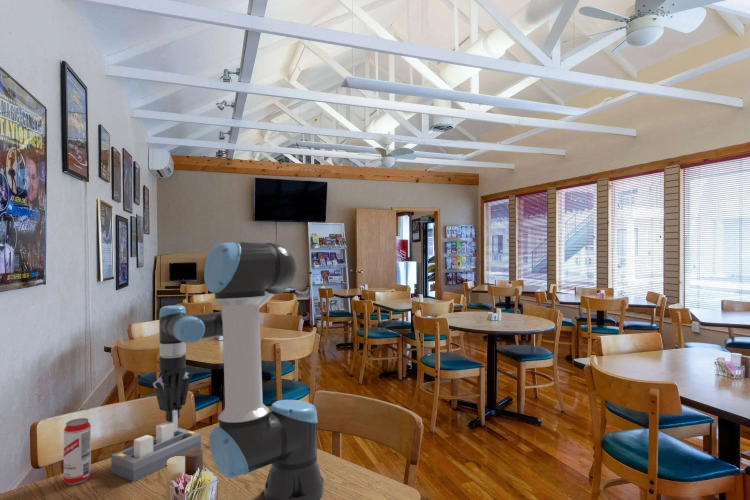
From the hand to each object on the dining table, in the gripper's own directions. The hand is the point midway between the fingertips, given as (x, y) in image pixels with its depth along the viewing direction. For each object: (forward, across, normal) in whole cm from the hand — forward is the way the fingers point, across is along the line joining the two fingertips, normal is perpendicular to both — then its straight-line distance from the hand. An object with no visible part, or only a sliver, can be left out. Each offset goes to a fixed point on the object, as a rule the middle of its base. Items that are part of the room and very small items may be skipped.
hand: (172, 430), depth 139 cm
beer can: (+7, +24, -7) cm, 26 cm away
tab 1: (+3, +12, +4) cm, 13 cm away
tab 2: (+3, +3, 0) cm, 4 cm away
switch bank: (+6, +6, +2) cm, 9 cm away
